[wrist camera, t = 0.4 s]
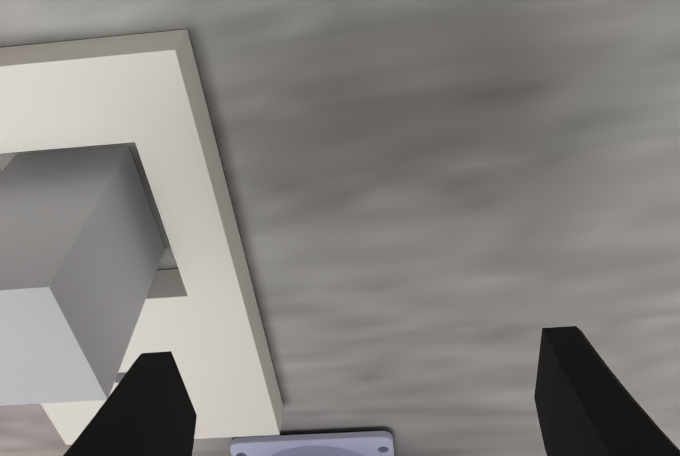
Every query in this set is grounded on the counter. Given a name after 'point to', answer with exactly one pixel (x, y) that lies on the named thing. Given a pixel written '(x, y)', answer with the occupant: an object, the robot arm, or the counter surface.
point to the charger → (71, 272)
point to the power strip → (174, 208)
